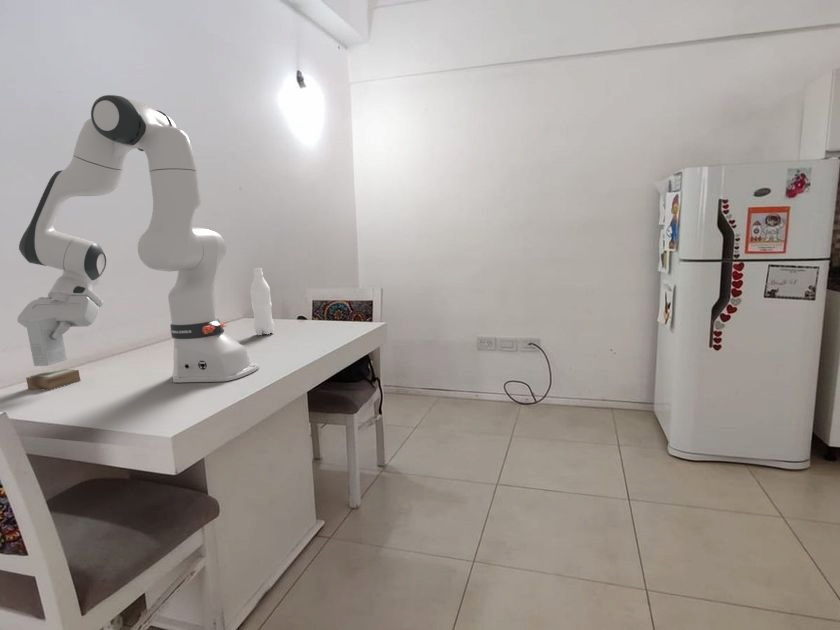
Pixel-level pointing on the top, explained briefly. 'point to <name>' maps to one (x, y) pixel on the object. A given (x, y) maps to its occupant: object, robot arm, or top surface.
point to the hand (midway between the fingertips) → (43, 338)
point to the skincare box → (45, 341)
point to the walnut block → (53, 379)
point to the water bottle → (261, 304)
